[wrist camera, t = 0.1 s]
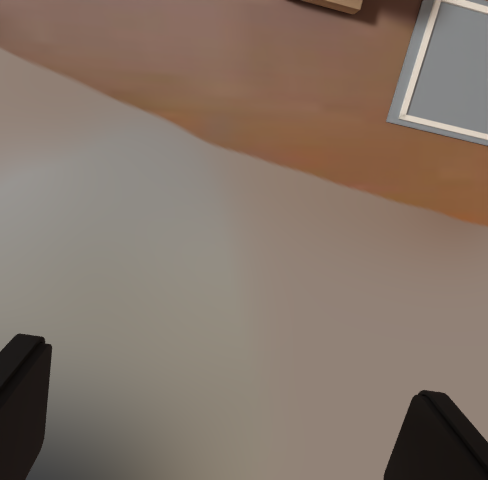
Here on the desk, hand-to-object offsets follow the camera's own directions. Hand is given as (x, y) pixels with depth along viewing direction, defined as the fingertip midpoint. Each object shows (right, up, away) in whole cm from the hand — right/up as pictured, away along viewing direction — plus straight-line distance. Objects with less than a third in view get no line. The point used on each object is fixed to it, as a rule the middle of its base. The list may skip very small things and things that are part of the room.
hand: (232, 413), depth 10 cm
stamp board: (+22, +20, +28) cm, 41 cm away
